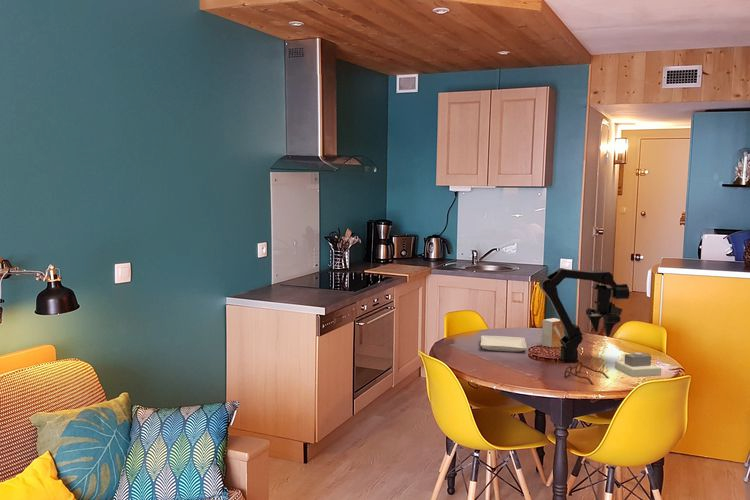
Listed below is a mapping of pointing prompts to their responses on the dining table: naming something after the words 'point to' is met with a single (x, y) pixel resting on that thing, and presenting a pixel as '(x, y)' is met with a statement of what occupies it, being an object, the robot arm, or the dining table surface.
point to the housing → (637, 359)
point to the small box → (552, 332)
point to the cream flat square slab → (503, 343)
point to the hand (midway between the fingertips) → (602, 334)
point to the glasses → (580, 370)
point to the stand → (638, 369)
